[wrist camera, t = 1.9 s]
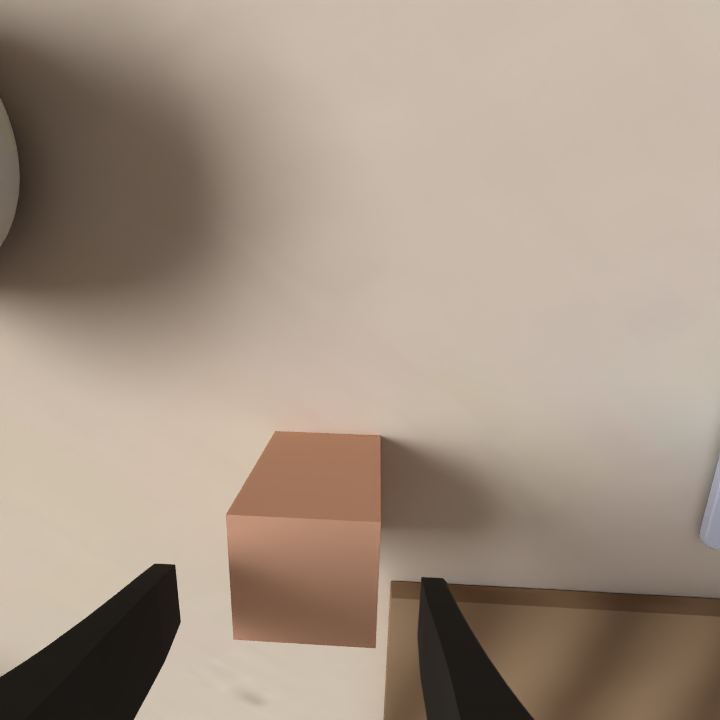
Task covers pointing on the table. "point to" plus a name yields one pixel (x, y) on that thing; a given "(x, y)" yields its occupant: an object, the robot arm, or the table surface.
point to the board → (573, 652)
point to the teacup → (7, 174)
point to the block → (308, 542)
